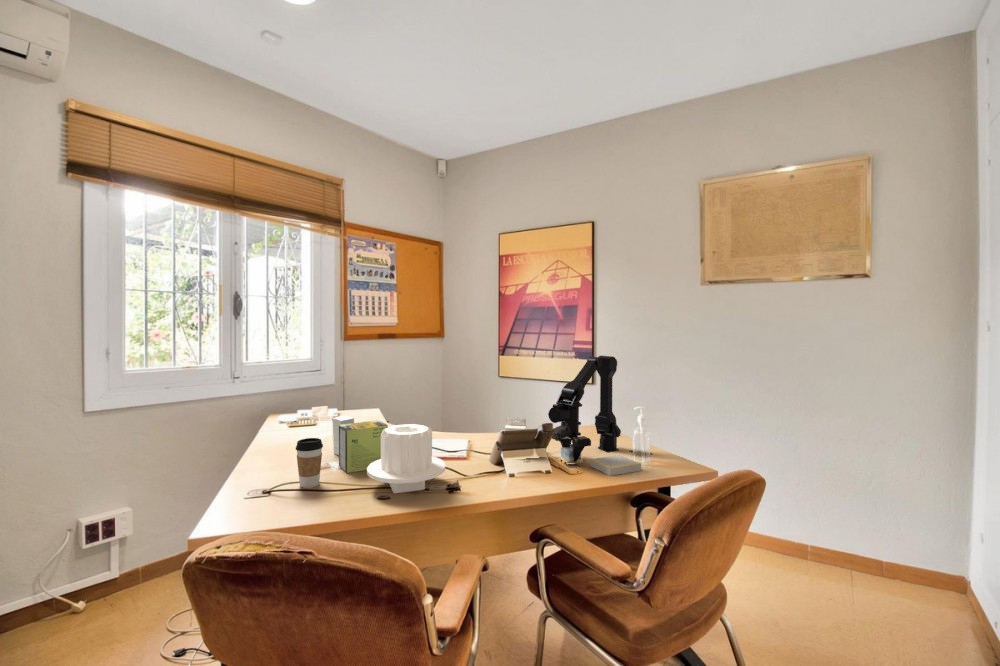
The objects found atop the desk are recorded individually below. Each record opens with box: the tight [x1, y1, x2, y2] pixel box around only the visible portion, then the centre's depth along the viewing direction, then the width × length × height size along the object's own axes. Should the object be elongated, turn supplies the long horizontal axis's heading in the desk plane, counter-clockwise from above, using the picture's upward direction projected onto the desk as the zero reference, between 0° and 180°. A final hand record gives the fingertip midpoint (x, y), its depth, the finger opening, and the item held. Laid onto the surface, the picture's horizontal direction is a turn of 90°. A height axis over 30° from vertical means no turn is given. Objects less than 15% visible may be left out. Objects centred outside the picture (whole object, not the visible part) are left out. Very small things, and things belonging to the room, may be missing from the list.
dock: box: [589, 454, 642, 477], centre depth 173 cm, size 14×12×3 cm
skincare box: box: [331, 415, 355, 456], centre depth 187 cm, size 8×6×15 cm
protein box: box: [338, 419, 389, 474], centre depth 173 cm, size 10×15×16 cm
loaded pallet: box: [558, 446, 584, 465], centre depth 180 cm, size 7×6×5 cm
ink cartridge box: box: [504, 417, 527, 432], centre depth 188 cm, size 9×5×15 cm, turn 84°
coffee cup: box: [295, 437, 324, 489], centre depth 153 cm, size 8×8×15 cm
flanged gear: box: [366, 423, 446, 494], centre depth 152 cm, size 25×25×19 cm
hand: (570, 459), depth 180 cm, fingers closed on loaded pallet, 6 cm apart
